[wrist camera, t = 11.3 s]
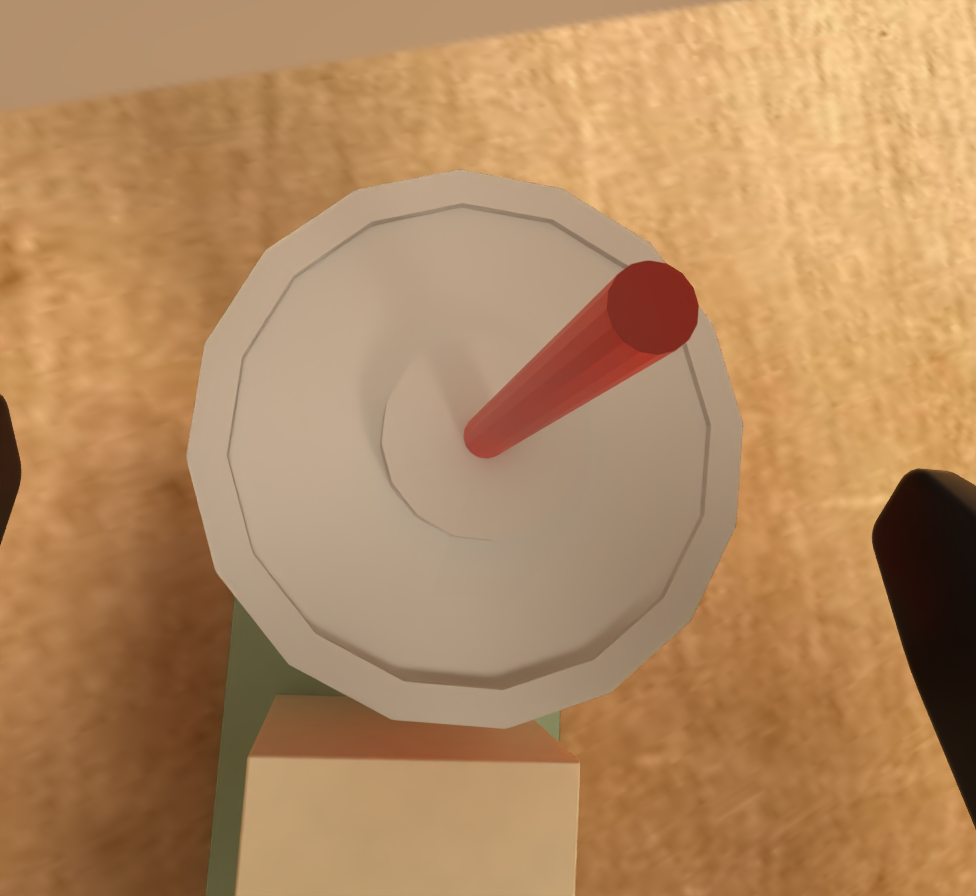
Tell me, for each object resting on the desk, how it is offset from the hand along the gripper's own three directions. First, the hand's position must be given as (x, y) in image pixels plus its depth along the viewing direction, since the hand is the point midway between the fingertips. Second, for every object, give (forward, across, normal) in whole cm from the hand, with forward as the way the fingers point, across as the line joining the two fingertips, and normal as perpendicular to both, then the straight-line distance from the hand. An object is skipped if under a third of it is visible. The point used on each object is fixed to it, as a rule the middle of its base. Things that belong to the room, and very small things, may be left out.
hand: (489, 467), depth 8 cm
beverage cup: (+7, 0, +7) cm, 10 cm away
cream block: (+2, 0, +11) cm, 12 cm away
